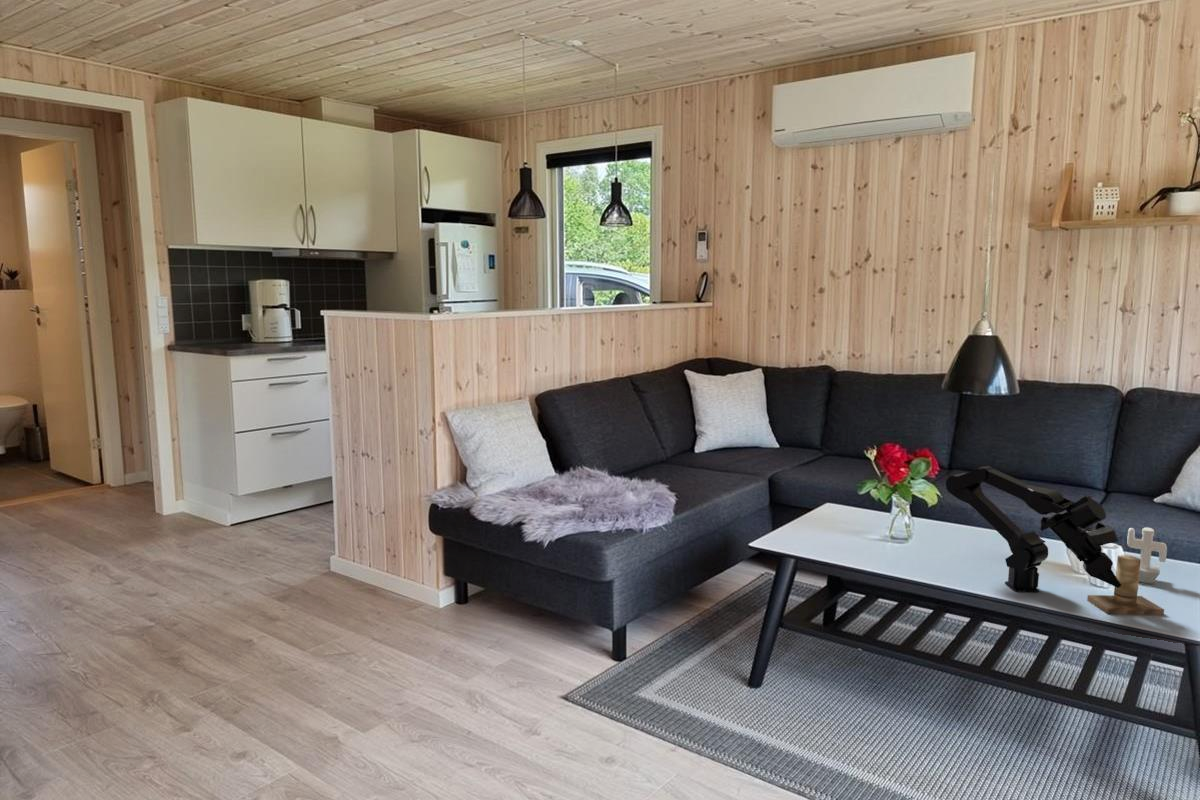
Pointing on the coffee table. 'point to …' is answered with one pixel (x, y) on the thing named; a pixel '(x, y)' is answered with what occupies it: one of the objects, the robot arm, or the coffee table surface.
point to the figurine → (1147, 553)
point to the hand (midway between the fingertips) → (1115, 580)
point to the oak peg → (1127, 580)
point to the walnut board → (1125, 606)
